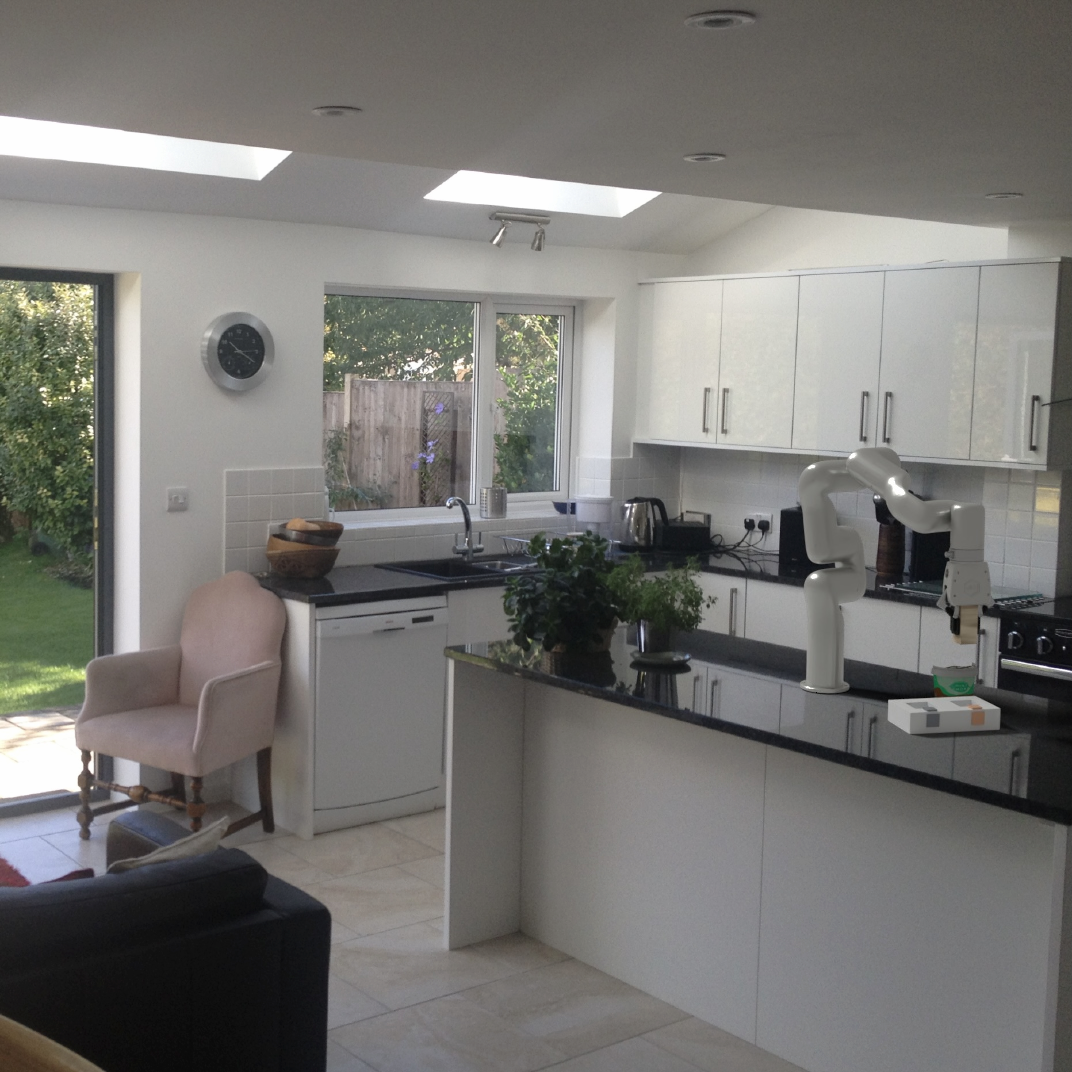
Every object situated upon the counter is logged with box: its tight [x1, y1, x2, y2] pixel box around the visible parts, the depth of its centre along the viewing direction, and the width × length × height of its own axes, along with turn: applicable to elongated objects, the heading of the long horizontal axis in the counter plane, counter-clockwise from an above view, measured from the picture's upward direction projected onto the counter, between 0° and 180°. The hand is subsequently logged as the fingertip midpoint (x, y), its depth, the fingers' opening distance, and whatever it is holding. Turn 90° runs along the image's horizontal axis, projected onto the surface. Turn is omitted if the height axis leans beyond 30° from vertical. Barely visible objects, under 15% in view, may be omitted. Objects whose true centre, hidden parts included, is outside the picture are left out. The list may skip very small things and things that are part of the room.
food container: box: [930, 662, 979, 698], centre depth 316 cm, size 12×6×10 cm, turn 105°
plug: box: [952, 605, 978, 646], centre depth 297 cm, size 4×4×10 cm
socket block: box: [887, 695, 1001, 735], centre depth 298 cm, size 12×22×5 cm, turn 99°
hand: (964, 632), depth 297 cm, fingers closed on plug, 4 cm apart
